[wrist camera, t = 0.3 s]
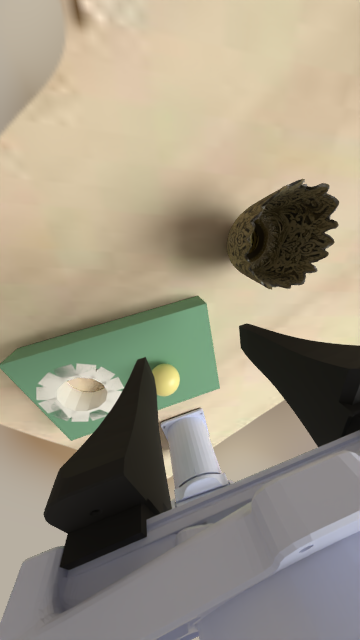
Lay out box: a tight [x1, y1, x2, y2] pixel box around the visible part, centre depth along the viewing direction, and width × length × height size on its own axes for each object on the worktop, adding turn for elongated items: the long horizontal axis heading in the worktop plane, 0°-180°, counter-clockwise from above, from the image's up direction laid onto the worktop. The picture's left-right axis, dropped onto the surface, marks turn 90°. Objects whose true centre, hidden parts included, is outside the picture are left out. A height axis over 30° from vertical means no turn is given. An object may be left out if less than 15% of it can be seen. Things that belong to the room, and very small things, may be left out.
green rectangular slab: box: [0, 296, 220, 441], centre depth 22 cm, size 14×22×3 cm, turn 103°
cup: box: [227, 179, 339, 289], centre depth 16 cm, size 7×7×8 cm
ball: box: [152, 364, 180, 396], centre depth 19 cm, size 4×4×4 cm
